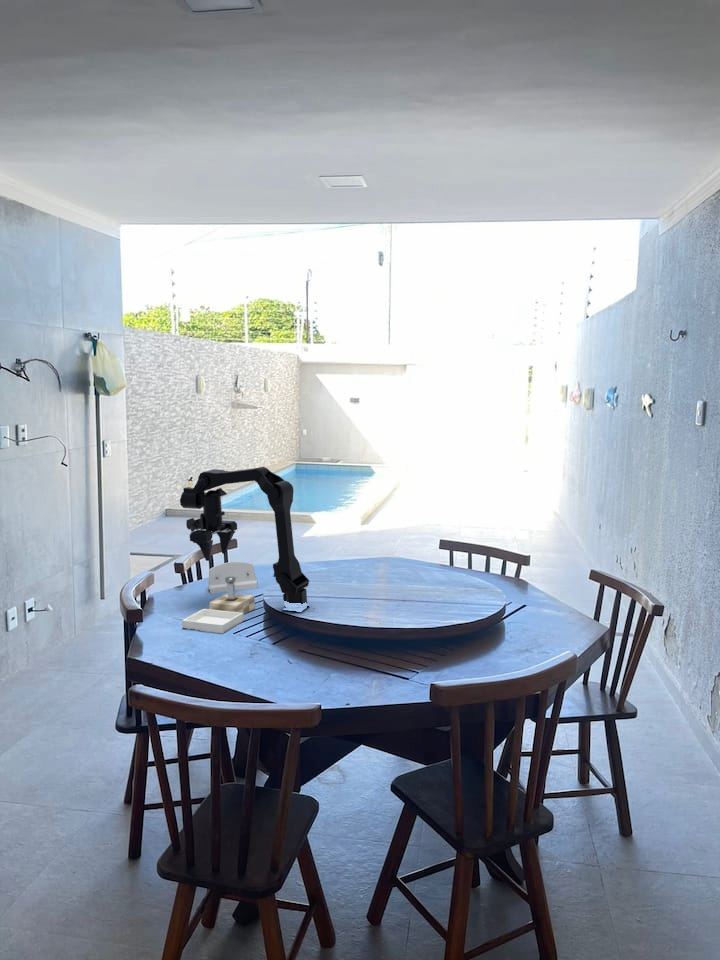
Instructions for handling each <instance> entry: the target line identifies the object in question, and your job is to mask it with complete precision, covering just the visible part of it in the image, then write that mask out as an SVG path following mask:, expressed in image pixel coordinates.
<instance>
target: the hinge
mask: <svg viewBox="0 0 720 960" xmlns="http://www.w3.org/2000/svg"><path fill="white" fill-rule="evenodd" d="M226 577H236V581H235V592H236V591H244V590H245V591H246V590H252V589H253V590H254V589H258V581H257V575H256V572H255V567H254V565H253V564H252V563H248V562H245V561H229V562H224V563H220V564H218V565H215V566H213V567H211V568H210V569H209V570H208V585H207V586H208V587H207V589H208V591H209V594H211V595H212V594H217V593H218V594H220V593H227V582H226V581H225V578H226Z"/></svg>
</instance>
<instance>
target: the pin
mask: <svg viewBox="0 0 720 960" xmlns="http://www.w3.org/2000/svg"><path fill="white" fill-rule="evenodd" d="M225 581H226V582H227V592H226V593H228V601H235V600H236V595H235V594H236V591H235V581H236V577H226V578H225Z"/></svg>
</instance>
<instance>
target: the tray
mask: <svg viewBox="0 0 720 960" xmlns="http://www.w3.org/2000/svg"><path fill="white" fill-rule="evenodd" d="M243 622H244V615H243V613H238V612H229V611H220V610H211V609H209V608H203V609H200V610H199V611H196V612H194V613H193V614H191V615H189V616H188V617H185V618H184V619H182V620H181V625H182V627H183V628H189V629H188V630H190V629H195V630H194V631H198V630H200V632H208V633H214V634H223V635H224V634H225V633H226V632H228V631H229V630H232V629H233V628H235V627H237V626H238V625H240V624H241V623H243ZM182 627H181V628H182ZM183 628H182V629H183Z"/></svg>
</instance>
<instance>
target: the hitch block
mask: <svg viewBox="0 0 720 960" xmlns="http://www.w3.org/2000/svg"><path fill="white" fill-rule="evenodd" d="M235 595H236V600H235V601H228V593H227V592H225V594H222V595H221V596H219V597H217V598H215V599H214V600H212V601H210V602H208V606H209V607H208V609H211V610H220V611H229V612H238V613H243V616H244V615H246V614H248V613H249V612H252V611H253V610H255V609H256V604H255V602H256V599H255V595H251V594H249V595H248V594H239V593H238V594H237V593H235Z"/></svg>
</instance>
